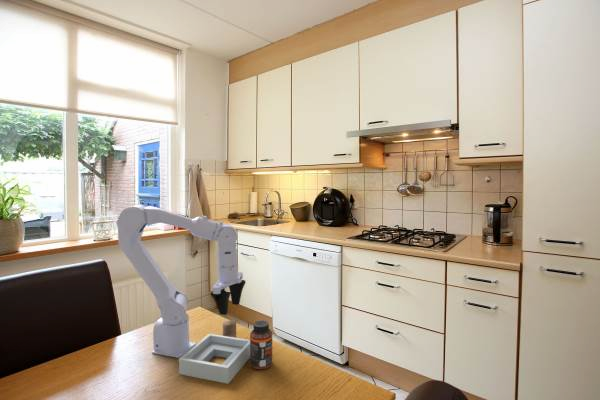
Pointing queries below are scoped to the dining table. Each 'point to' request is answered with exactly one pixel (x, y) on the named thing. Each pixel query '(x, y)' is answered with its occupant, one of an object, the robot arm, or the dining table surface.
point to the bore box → (219, 346)
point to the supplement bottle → (261, 346)
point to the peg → (229, 329)
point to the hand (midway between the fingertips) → (229, 309)
